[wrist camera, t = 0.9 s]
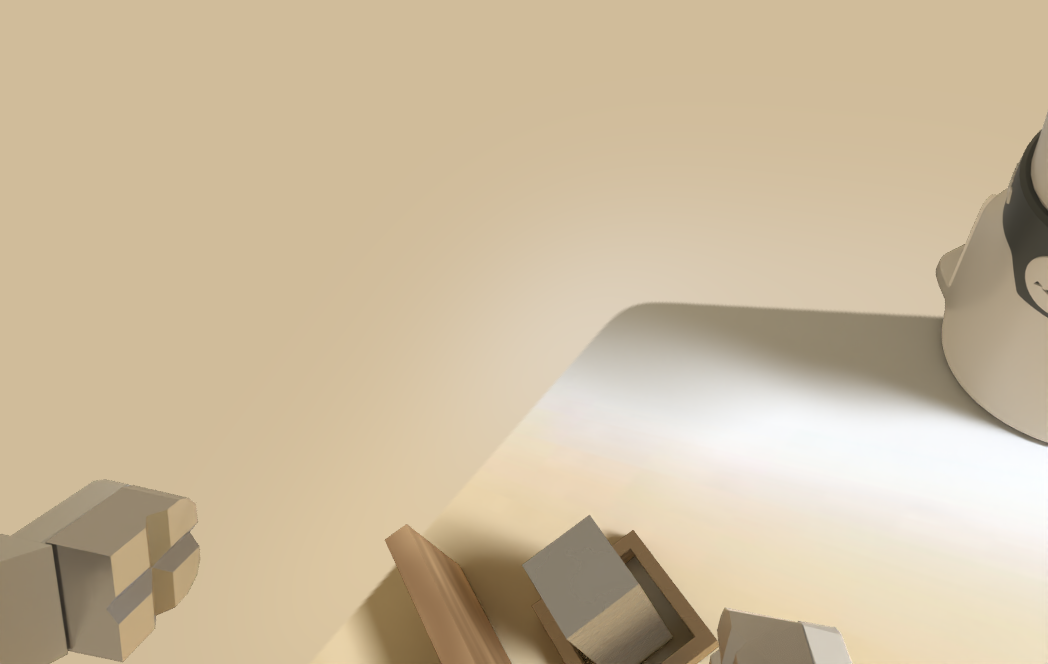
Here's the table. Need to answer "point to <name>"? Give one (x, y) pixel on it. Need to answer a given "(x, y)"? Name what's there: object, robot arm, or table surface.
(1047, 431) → the robot arm
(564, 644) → the key socket
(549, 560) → the block
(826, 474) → the table surface
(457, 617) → the board
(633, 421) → the table surface
